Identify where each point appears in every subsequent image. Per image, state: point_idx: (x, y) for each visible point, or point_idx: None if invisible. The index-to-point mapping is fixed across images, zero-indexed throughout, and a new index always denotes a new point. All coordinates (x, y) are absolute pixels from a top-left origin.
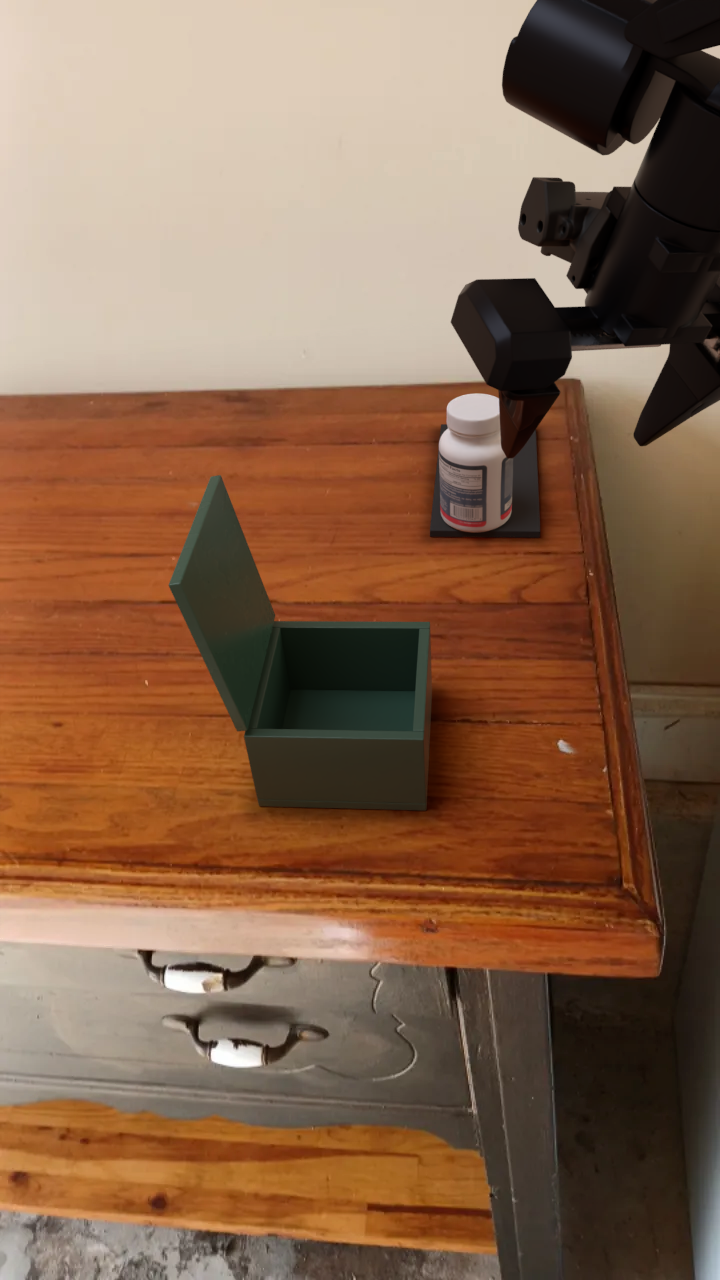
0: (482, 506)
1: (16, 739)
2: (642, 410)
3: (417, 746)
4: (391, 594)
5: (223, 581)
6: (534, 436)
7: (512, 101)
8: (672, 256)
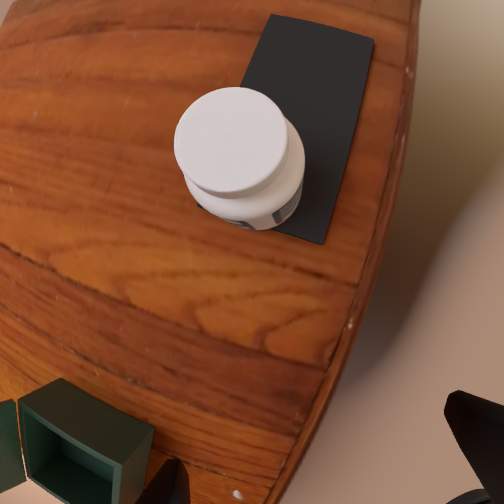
0: (247, 227)
1: None
2: (480, 415)
3: None
4: (140, 296)
5: None
6: (368, 59)
7: None
8: None
